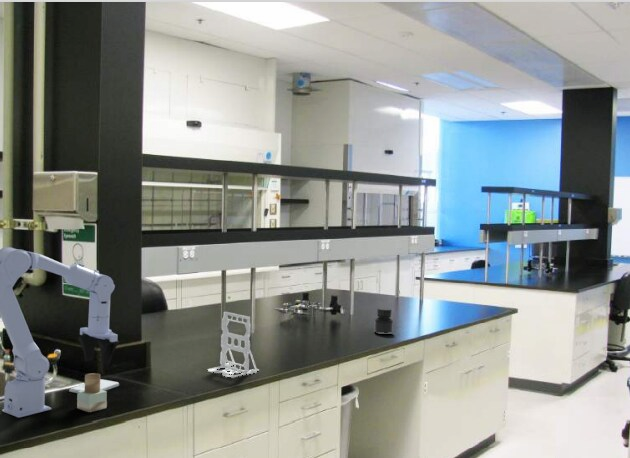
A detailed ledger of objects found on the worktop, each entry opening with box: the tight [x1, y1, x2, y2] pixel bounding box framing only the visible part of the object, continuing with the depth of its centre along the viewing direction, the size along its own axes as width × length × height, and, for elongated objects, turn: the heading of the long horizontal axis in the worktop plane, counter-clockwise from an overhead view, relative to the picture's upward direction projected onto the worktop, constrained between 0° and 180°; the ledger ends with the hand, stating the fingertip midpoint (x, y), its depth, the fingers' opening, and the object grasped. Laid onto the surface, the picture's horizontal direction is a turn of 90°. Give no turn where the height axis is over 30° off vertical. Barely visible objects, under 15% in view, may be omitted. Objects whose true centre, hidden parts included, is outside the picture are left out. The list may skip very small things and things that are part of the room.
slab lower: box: [76, 400, 108, 413], centre depth 174 cm, size 6×6×2 cm
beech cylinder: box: [84, 372, 101, 393], centre depth 174 cm, size 4×4×4 cm
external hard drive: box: [68, 378, 120, 394], centre depth 193 cm, size 2×8×12 cm
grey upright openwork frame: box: [207, 311, 260, 379], centre depth 220 cm, size 14×14×20 cm
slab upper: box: [76, 389, 108, 405], centre depth 174 cm, size 6×6×2 cm
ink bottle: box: [373, 307, 394, 333], centre depth 304 cm, size 10×9×12 cm
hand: (97, 362), depth 182 cm, fingers open, 7 cm apart
